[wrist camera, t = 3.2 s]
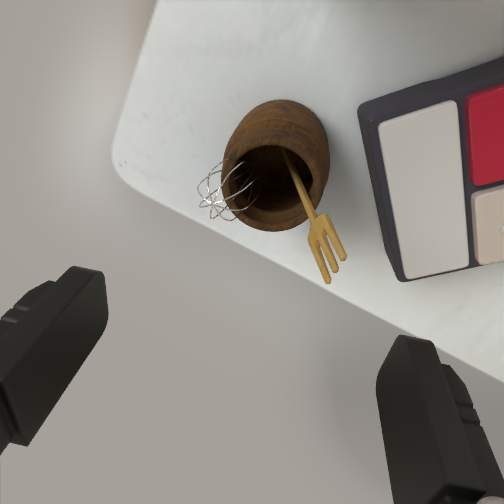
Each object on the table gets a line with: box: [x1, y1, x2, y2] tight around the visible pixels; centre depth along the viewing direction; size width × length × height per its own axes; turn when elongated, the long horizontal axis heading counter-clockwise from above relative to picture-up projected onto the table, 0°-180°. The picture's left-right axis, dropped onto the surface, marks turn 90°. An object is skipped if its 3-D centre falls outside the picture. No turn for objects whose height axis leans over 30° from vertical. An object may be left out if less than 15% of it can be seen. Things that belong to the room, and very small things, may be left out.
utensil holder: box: [197, 100, 347, 284], centre depth 19 cm, size 6×6×12 cm
